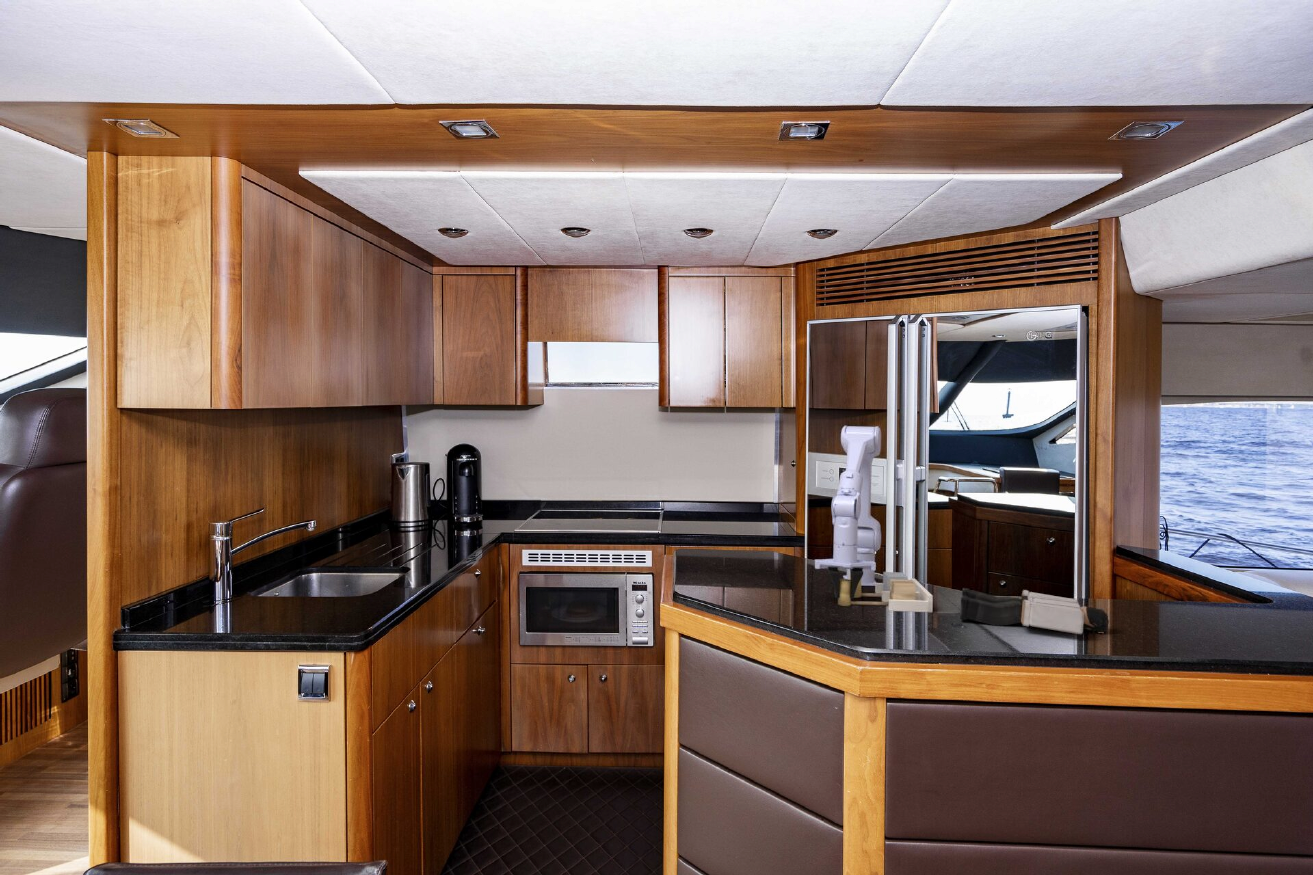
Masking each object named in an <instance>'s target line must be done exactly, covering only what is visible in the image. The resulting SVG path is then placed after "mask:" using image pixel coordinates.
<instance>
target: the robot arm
mask: <svg viewBox="0 0 1313 875" xmlns="http://www.w3.org/2000/svg"><path fill="white" fill-rule="evenodd" d="M840 432H841V433H840V442H841V443H840V444H841V447H842V448H843V451H844V452H845V454H846V455H847V456H846V466H845V470H844V471H842V472H841V473H840V476H839V480H838V484H837V485H838V487H837V490H836V495H835V496H833V497H832V500H831V516H832V525H833V553H832V554H833V555H832V558H825V559H824V558H823V559H814V568H815V569H816V570H819V569H827V572H828V575H829V577H830V579H831V583H832V586H833V590H834V598H835V599H837V600H838V599H839V579H840V575H841V574H840V571H839V569H840V570H846V575H843V576H842V577H843V579H850V580H851V600H854V599H855V598H854V595H855V592H856V588H857V586H858V583H859V581H860V580H861V578H862V580H861V587H862V586H865V587H868V586H870V587H875V583H878V582H877V581H876V580H875V571H876V567H877V565H876V564H877V563H876V562H875V561H876V559H875V558H876V552H878V550H880V549H881V545H882V531H881V524H880V522H879V521H878V520H877V519H875V518H874V517H873V516H872V515H871V508H872V507H871V506H872V505H871V502H872V501H871V500H872V499H871V498H872V466H873V465H872V464H873V461H874V458H875V457H878V456H879V455H880V453H881V451H882V450H881V449H882V448H881V447H882V431H881V428H880V427H879V426H878V425H877V426H854V425H853V426H850V425H849V426H848V425H844V426H843V427H842V429H841V431H840Z"/></svg>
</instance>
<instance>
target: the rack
mask: <svg viewBox="0 0 1313 875" xmlns="http://www.w3.org/2000/svg"><path fill="white" fill-rule="evenodd" d="M910 580H911V581H912V582H913V583H914V584H915V585H916V591H915V600H892V599H890V591H883V582H877V583H875V586H874V587H875V588H874V589H875V590H874V591H875V592H874V593H875V594H882V597H881V602H889V606H888V611H890V612H913V613H915V612H917V613H933V605H934V604H933V602H934V601H933V599H934V598H933V597H934V596H933V594H931V592H929V590H928V589H926V588H925V587H924V586H923V585H922V584H921V583H920V581H918V580H917V579H916V578H912V577H911V578H910Z"/></svg>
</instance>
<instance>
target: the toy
mask: <svg viewBox="0 0 1313 875" xmlns="http://www.w3.org/2000/svg"><path fill="white" fill-rule="evenodd" d="M1021 592H1022V593H1021V596H995V595H991V594H988V593H984V592H980V591H977V590H973V589H971V590H970V588H967V587H963V588H962V592H961V597H960V606H959V607H960V609H959V610H960V611H959V620H970V621H974V622H978V623H979V622H980V623H983V624H987V625H992V626H995V627H997V626H1000V627H1003V626H1007V625H1015V624H1022V626H1023V627H1024V626H1025V627H1029V626H1030V627H1035V628H1039V629H1045V630H1046V629H1048V630H1053V631H1059V632H1065V633H1069V634H1070V633H1072V634H1075V635H1082V634H1083V632H1084V630H1089V631H1090V630H1093V631H1092V632H1094V631H1097V632H1105V631H1106V632H1107V631H1108V630H1109V623H1110V620H1109V615H1108V613H1106V612H1105V610H1104V609H1103V608H1096V607H1092V606H1081V605H1080V603H1079V602H1078V600H1077V599H1074V598H1068V597H1062V596H1055V595H1051V594H1044V593H1038V592H1032V591H1029V590H1027V589H1023V590H1022V591H1021ZM1097 632H1096V633H1097Z"/></svg>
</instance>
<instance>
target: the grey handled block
mask: <svg viewBox="0 0 1313 875" xmlns="http://www.w3.org/2000/svg"><path fill="white" fill-rule="evenodd" d="M882 577H883V579H882V583H883V591H890V579H893V580H909V579H908V576H907V575H906V574H905V573H904V572H900V571H899V572H898V571H897V572H896V571H891V572H890V571H883V574H882ZM849 580H850V579H849ZM861 580H862V578H861ZM861 580H860V581H859V583H858V586H857V588H856V592H855V595H854V599H855V598H856V599H857V598H862V597H872V598H873V597H876V598H882V593H875V592H874V593H870V592H869V593H868V592H862V585H861Z"/></svg>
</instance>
